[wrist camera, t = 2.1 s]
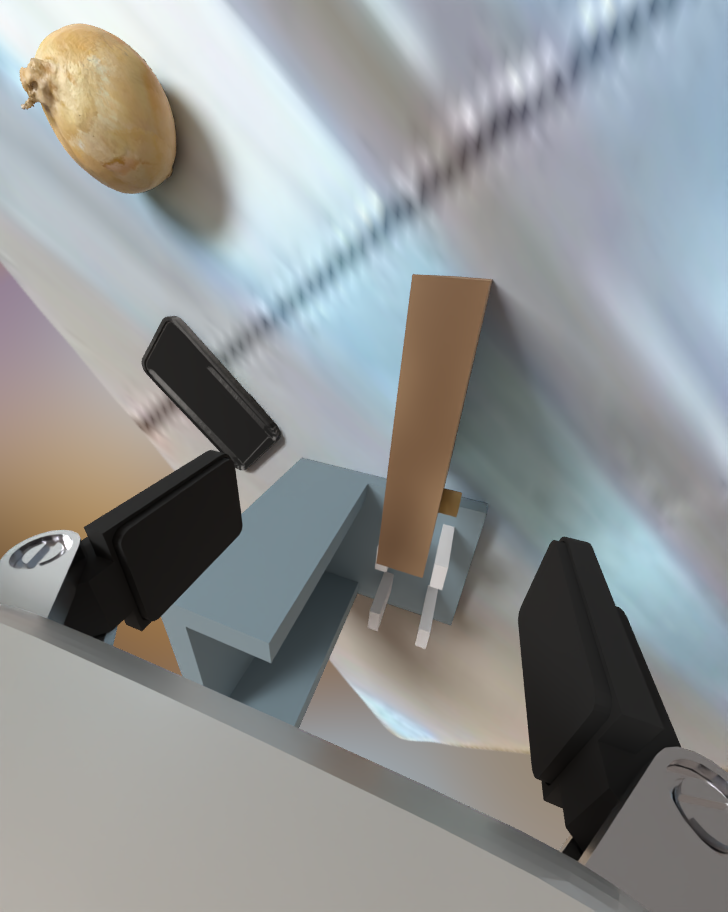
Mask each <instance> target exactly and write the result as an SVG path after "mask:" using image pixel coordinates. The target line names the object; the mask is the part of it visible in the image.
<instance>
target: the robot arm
mask: <svg viewBox="0 0 728 912" xmlns="http://www.w3.org/2000/svg"><path fill="white" fill-rule="evenodd" d="M242 527H243V523H242V516H241V508H240V501H239V493H238V486H237V479H236V471H235V464H234V462H233V460H231V457H230V456H229V455H228V454H225V453H221V452H217V451H213V450H209V451H207V452H205V453H204V454H202V455H200V456H199V457H197V458H195V459H194V460H192V461H191V462H189V463H187V464H186V465H184V466H182V467H181V468H179V469H178V470H176V471H174V472H173V473H171V474H169V475H168V476H166V477H165V478H163V479H161V480H160V481H158V482H157V483H155V484H153V485H152V486H150V487H148V488H147V489H145V490H144V491H142V492H140V493H139V494H137V495H135V496H134V497H132V498H131V499H129V500H127V501H126V502H124V503H122V504H121V505H119V506H118V507H116V508H114V509H113V510H111V511H110V512H108V513H106V514H105V515H103V516H101V517H100V518H98V519H97V520H95V521H93V522H92V523H90V524H89V525H87V526H85V527H84V529H85V531H86V533H87V536H88V537H86V538H85V539H83V540H82V541H81V539H80V537H79V535H78V534H77V533H75V532H73V531H68V530H57V531H50V532H46V533H42V534H39V535H36V536H33V537H31V538H28V539H27V540H25V541H23V542H21V543H19V544H17V545H16V546H14V547H13V548H12V549H10V550H9V551H8V552H7V553H6V554H5V555H4V556H3V557H2V558H1V560H0V912H728V773H727V772H726V771H724V770H723V769H722V768H720V767H719V766H718V765H716V764H715V763H714V762H712V761H711V760H709V759H707V758H705V757H704V756H702V755H700V754H698V753H696V752H694V751H691V750H688V749H684V748H681V746H680V743H679V741H678V738H677V736H676V734H675V731H674V729H673V726H672V724H671V722H670V719H669V717H668V714H667V712H666V710H665V707H664V705H663V702H662V700H661V698H660V695H659V693H658V690H657V688H656V686H655V683H654V681H653V678H652V676H651V674H650V671H649V669H648V666H647V664H646V662H645V659H644V657H643V654H642V652H641V650H640V647H639V645H638V643H637V640H636V638H635V635H634V633H633V631H632V628H631V626H630V623H629V621H628V619H627V617H626V615H625V613H624V611H623V610H622V609H620V608H619V607H616V606H615V603H614V601H613V598H612V596H611V593H610V591H609V588H608V586H607V583H606V581H605V578H604V576H603V573H602V570H601V568H600V565H599V563H598V560H597V558H596V555H595V553H594V550H593V548H592V546H591V544H590V543H588V542H584V541H580V540H576V539H572V538H568V537H562V538H561V539H560V540H559V541H556V540H553V541H552V542H551V543H550V545H549V547H548V549H547V552H546V554H545V556H544V558H543V560H542V562H541V565H540V567H539V569H538V571H537V573H536V575H535V578H534V580H533V582H532V584H531V586H530V588H529V590H528V593H527V595H526V597H525V599H524V601H523V603H522V606H521V608H520V611H519V616H518V625H519V636H520V647H521V657H522V668H523V679H524V689H525V700H526V711H527V721H528V732H529V743H530V753H531V763H532V771H533V774H534V776H535V778H536V779H539V780H541V781H542V790H543V799H544V801H546V802H549V803H551V804H554V805H556V806H558V807H561V808H563V812H564V819H565V826H566V828H567V830H568V831H569V833H570V835H569V837H568V838H567V839H566V841H565V842H564V843H563V845H562V846H561V848H560V849H559V850H556V849H554V848H552V847H550V846H548V845H546V844H545V843H543V842H541V841H539V840H537V839H535V838H533V837H531V836H529V835H528V834H526V833H524V832H522V831H520V830H518V829H515V828H514V827H512V826H510V825H508V824H505V823H503V822H501V821H499V820H497V819H495V818H493V817H490V816H489V815H486V814H484V813H482V812H480V811H478V810H476V809H474V808H472V807H470V806H467V805H465V804H463V803H461V802H458V801H457V800H455V799H453V798H451V797H448V796H446V795H444V794H442V793H440V792H438V791H436V790H434V789H431V788H429V787H427V786H425V785H423V784H421V783H418V782H416V781H414V780H412V779H410V778H407V777H405V776H403V775H400V774H399V773H396V772H394V771H392V770H390V769H387V768H385V767H383V766H381V765H379V764H376V763H374V762H372V761H370V760H368V759H365V758H363V757H361V756H359V755H357V754H354V753H352V752H350V751H348V750H345V749H343V748H341V747H339V746H337V745H334V744H332V743H330V742H328V741H326V740H323V739H321V738H319V737H317V736H314V735H312V734H310V733H308V732H305V731H303V730H301V729H299V728H297V727H294V726H292V725H290V724H288V723H286V722H283V721H281V720H279V719H277V718H274V717H272V716H270V715H268V714H265V713H263V712H261V711H259V710H256V709H254V708H252V707H250V706H247V705H245V704H243V703H241V702H238V701H236V700H234V699H232V698H229V697H227V696H225V695H223V694H220V693H218V692H216V691H214V690H211V689H209V688H207V687H205V686H202V685H200V684H198V683H196V682H193V681H191V680H189V679H187V678H184V677H182V676H180V675H178V674H175V673H173V672H171V671H169V670H166V669H164V668H162V667H160V666H157V665H155V664H153V663H150V662H148V661H146V660H143V659H141V658H139V657H137V656H134V655H132V654H130V653H128V652H125V651H123V650H121V649H118V648H116V647H114V646H113V643H114V639H115V635H116V630H117V626H118V625H119V624H120V623H121V622H122V621H123V620H125V623H126V625H128V626H131V627H133V628H136V629H138V630H140V631H143V630H144V629H145V628H146V626H148V625H149V624H150V623H151V621H155V620H157V619H159V618H160V617H161V616H162V615H163V614H164V613H165V612H166V611H167V610H168V609H169V608H170V607H171V606H172V605H173V604H174V602H175V601H176V600H177V599H178V598H179V597H180V596H181V595H182V594H183V593H184V592H185V591H186V590H187V589H188V588H189V587H190V586H191V585H192V584H193V583H194V582H195V581H196V580H197V579H198V578H199V577H200V576H201V574H202V573H203V572H204V571H205V570H206V569H207V568H208V567H209V566H210V565H211V564H212V563H213V562H214V561H215V560H216V559H217V558H218V557H219V556H220V555H221V554H222V553H223V552H224V551H225V550H226V549H227V548H228V546H229V545H230V544H231V543H232V542H233V541H234V540H235V539H236V538H237V537H238V536H239V535H240V533H241V531H242Z"/></svg>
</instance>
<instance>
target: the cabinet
mask: <svg viewBox="0 0 728 912" xmlns="http://www.w3.org/2000/svg"><path fill="white" fill-rule="evenodd" d="M386 482H387V479H386V478H382V477H378V476H373V475H369V474H365V473H361V472H357V471H353V470H349V469H345V468H341V467H337V466H333V465H329V464H325V463H321V462H317V461H312V460H308V459H304V458H301V459H300V460H299V461H298V462H297V463H296V464H295V465H294V466H293V467H292V468H290V469H289V470H288V471H287V472H286V473H285V474H284V475H283V476H282V477H281V478H280V479H279V480H278V481H277V482H275V483H274V484H273V485H272V486H271V487H270V488H269V489H268V490H267V491H266V492H265V493H264V494H263V495H262V496H260V497H259V498H258V499H257V500H256V501H255V502H254V503H253V504H252V505H251V506H250V507H249V508H248V509H246V510H245V511H244V512H243V513H242V514H241V516H242V523H243V527H242V531H241V533H240V535H239V536H238V537H237V538H236V539H235V540H234V541H233V542H232V543H231V544H230V545H229V546H228V548H227V549H226V550H225V551H224V552H223V553H222V554H221V555H220V556H219V557H218V558H217V559H216V560H215V561H214V562H213V563H212V564H211V565H210V566H209V567H208V568H207V569H206V570H205V571H204V572H203V573H202V574H201V576H200V577H199V578H198V579H197V580H196V581H195V582H194V583H193V584H192V585H191V586H190V587H189V588H188V589H187V590H186V591H185V592H184V593H183V594H182V595H181V596H180V597H179V598H178V599H177V600H176V601H175V602H174V604H173V605H172V606H171V607H170V608H169V609H168V610H167V611H166V612H165V613H164V614H163V615H162V616H161V617H162V620H163V623H164V626H165V629H166V631H167V634H168V637H169V640H170V643H171V646H172V648H173V651H174V654H175V657H176V660H177V662H178V665H179V668H180V671H181V674H182V676H183V677H184V678H187V679H189V680H191V681H193V682H196V683H198V684H200V685H202V686H205V687H207V688H209V689H211V690H214V691H216V692H218V693H220V694H223V695H225V696H227V697H229V698H232V699H234V700H236V701H238V702H241V703H243V704H245V705H247V706H250V707H252V708H254V709H256V710H259V711H261V712H263V713H265V714H268V715H270V716H272V717H274V718H277V719H279V720H281V721H283V722H286V723H288V724H290V725H292V726H294V727H297V728H299V727H300V724H301V722H302V720H303V717H304V715H305V713H306V711H307V708H308V706H309V703H310V701H311V699H312V697H313V694H314V692H315V690H316V687H317V685H318V683H319V681H320V678H321V676H322V674H323V671H324V669H325V667H326V664H327V662H328V660H329V658H330V655H331V653H332V651H333V648H334V646H335V644H336V641H337V639H338V637H339V635H340V632H341V630H342V628H343V625H344V623H345V621H346V618H347V616H348V614H349V612H350V609H351V607H352V605H353V602H354V600H355V598H356V595H357V593H358V594H361V595H364V596H367V597H370V598H373V599H374V601H373V603H372V606H371V609H370V612H369V620H368V628H369V629H372V630H375V631H377V632H378V629H379V626H380V623H381V620H382V617H383V614H384V611H385V608H386V604H390V605H393V606H396V607H399V608H402V609H405V610H408V611H411V612H413V613H416V614H419V615H421V619H420V624H419V629H418V633H417V638H416V643H415V646H418V647H421V648H423V649H426V646H427V643H428V639H429V635H430V631H431V626H432V620H433V619H434V620H437V621H440V622H443V623H445V624H448V625H451V624H452V621H453V618H454V615H455V611H456V608H457V605H458V602H459V599H460V596H461V593H462V590H463V586H464V583H465V580H466V577H467V574H468V571H469V568H470V565H471V562H472V558H473V555H474V552H475V549H476V546H477V543H478V540H479V537H480V533H481V530H482V527H483V524H484V521H485V518H486V515H487V503H483V502H479V501H475V500H471V499H467V498H463V497H461V501H460V505H459V510H458V513H457V517H453V516H449V515H445V514H442V513H438V516H437V520H436V524H435V528H434V533H433V537H432V541H431V545H430V549H429V554H428V558H427V562H426V566H425V570H424V574H423V578H421V577H418V576H414V575H411V574H408V573H405V572H402V571H398V570H395V569H392V568H389V567H386V566H383V565H379V564H376V561H377V553H378V545H379V537H380V529H381V521H382V513H383V505H384V497H385V490H386Z"/></svg>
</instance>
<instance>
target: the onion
mask: <svg viewBox="0 0 728 912" xmlns="http://www.w3.org/2000/svg"><path fill="white" fill-rule="evenodd" d="M20 81H21V82H22V86H23V88H24V90H25V91H26V92H27V93H28V95H29V97H30V98H28V101H25V104H23V105H21V106H22V109H24V110H25V108H26V109H28V108H31V107H32V106H33V107H34V105H33V104H35V102H36V103H37V102H40V103H41V105H42V108H43V110H44V112H45V115H46V117H47V119H48V121H49V123H50V125H51V127H52V128H53V131H54V132H55V134H56V136H57V137H58V139H59V141H60V142H61V144H62V145H63V147H64V148H65V150H66V151H67V152H68V153H69V155H70V156H71V157H72V158H73V159H74V160H75V162H76V163H78V165H79V166H81V167H82V168H83V169H84V170H85V171H86V172H88V173H89V174H90V175H91V176H93V177H94V178H95V179H97V180H98V181H99V182H101V183H102V184H104V185H106V186H107V187H110V188H112V189H114V190H116V191H119V192H122V193H129V194H135V193H142V192H145V191H148V190H151V189H153V188H155V187H156V186H158V185H160V184H161V183H162V182H163V181H164V180H166V179H167V178H169V177H170V176H171V174H172V171H173V168H172V166H173V163H174V160H175V155H176V132H175V123H174V118H173V115H172V111H171V107H170V105H169V102H168V99H167V97H166V95H165V92H164V90H163V88H162V86H161V84H160V83H159V81H158V79H157V77H156V75H155V74H154V73H153V72H152V69H151V68H150V67H149V66H148V65H147V63H146V61H145V60H144V59H142V58H141V56H140V55H139V54H138V53H137V52H136V51H135V50H133V49H132V48H131V47H130V46H129V45H128V44H126V43H125V42H124V41H122V40H121V39H120V38H118V37H116V36H115V35H113V34H111V33H109V32H107V31H105V30H103V29H101V28H98V27H95V26H91V25H87V24H72V25H68V26H65V27H62V28H60V29H58V30H56V31H54V32H52V33H51V34H49V35H48V36H47V37H46V38H45V39H44V40H43V41H42V42H41V44H40V46H39V48H38V50H37V52H36V55H35V58H31V60H30V63H29V64H28V67H27V68H23V67H22V68H21V69H20Z"/></svg>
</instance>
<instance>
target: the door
mask: <svg viewBox="0 0 728 912" xmlns="http://www.w3.org/2000/svg"><path fill="white" fill-rule="evenodd" d="M492 280H493V279H481V278H469V277H457V276H437V275H415V274H413V275H412V282H411V290H410V298H409V306H408V314H407V322H406V330H405V338H404V346H403V354H402V362H401V370H400V378H399V386H398V394H397V402H396V410H395V418H394V426H393V434H392V442H391V450H390V458H389V466H388V474H387V482H386V490H385V497H384V505H383V513H382V521H381V529H380V537H379V545H378V553H377V561H376V564H379V565H383V566H386V567H389V568H392V569H395V570H398V571H402V572H405V573H408V574H411V575H414V576H418V577H421V578H423V574H424V570H425V566H426V562H427V558H428V554H429V549H430V545H431V541H432V537H433V533H434V528H435V524H436V520H437V516H438V513H442V514H445V515H449V516H453V517H457V513H458V510H459V505H460V501H461V496H462V493H461V492H457V491H453V490H449V489H445V488H444V487H445V483H446V478H447V474H448V470H449V466H450V462H451V457H452V453H453V449H454V445H455V440H456V436H457V432H458V427H459V423H460V419H461V414H462V410H463V406H464V401H465V397H466V393H467V388H468V384H469V380H470V375H471V371H472V367H473V362H474V358H475V354H476V349H477V345H478V340H479V336H480V332H481V327H482V323H483V319H484V314H485V310H486V306H487V301H488V297H489V293H490V288H491V284H492Z"/></svg>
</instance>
